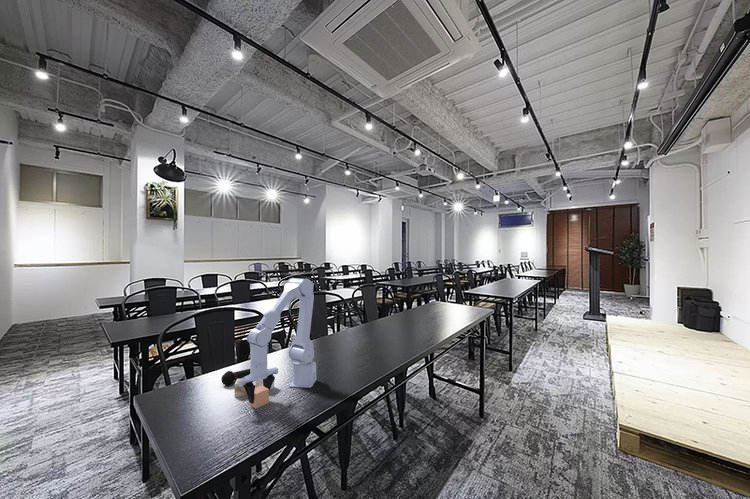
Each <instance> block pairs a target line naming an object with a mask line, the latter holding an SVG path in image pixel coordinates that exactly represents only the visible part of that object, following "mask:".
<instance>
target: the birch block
mask: <svg viewBox="0 0 750 499" xmlns="http://www.w3.org/2000/svg"><path fill="white" fill-rule="evenodd" d="M240 379H242V378H240ZM238 380H239V379H237V380H236V381H234V382H235V383H234V398H239V397H248V395H247V393H246V390H245V388H244V387H243V386H242V387H239V386H238Z"/></svg>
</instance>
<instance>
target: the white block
mask: <svg viewBox="0 0 750 499" xmlns="http://www.w3.org/2000/svg"><path fill="white" fill-rule="evenodd" d="M273 376H274V377H275V374H273ZM261 385H262V386H263V379H259V380H257V381H255V388H256V387H258V386H261ZM274 388H275V381H274V382H273V384H272V386H271V388H270V391H271V390H273V389H274Z"/></svg>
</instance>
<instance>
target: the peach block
mask: <svg viewBox="0 0 750 499" xmlns="http://www.w3.org/2000/svg"><path fill="white" fill-rule="evenodd" d="M269 403H270V392H269V389H268V388H266V387H264V386H262V385H261V386H258V387H256V386H255V391H254V403H253V404H251V403H250V402H249V401H248V405H250V406H251V407H252V408H253V409H258V408H261V407H262V406H265V405H268V404H269Z"/></svg>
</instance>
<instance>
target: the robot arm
mask: <svg viewBox="0 0 750 499" xmlns="http://www.w3.org/2000/svg"><path fill="white" fill-rule="evenodd" d="M293 298H298V300H300V303H299V310H298V319H297V325H296V326H297V327H296V335H295V336H296V337H295V339H293V340H292V341H291V345H290V348H289V350H288V356H289V358H290V359H291V362H292V382H290V384H289V385H288V387H289V388H309V389H310V388H312V387H313V386H314V384H315V383H316V382H317V380H318V379H317V362H315V361H313V360H314V356H315V350H314V343H313V342H312V340H311V337H310V334H311V326H312V317H313V309H314V299H315V295H314V283H313V282H312V281H311V280H310V278H295V277H291V278H289V279H288V281H287V283H285V285H284V288H283V292H282V293H281V294H280V296H279V297H278V299H277V301H276V303H275V305H274V306H273V308H272V309H269V310H267V311H266V312H264V314H263V317H262V318H261V320H260V321H259V322H258V323H257V324H256V325H255V327H254V328H253V329H251V330H250V331H249V333H248V335H247V336H246V340H247V342H248V343H249V348H250V353H249V354H250V357H249V358H250V361H249V362H250V368H249V369H250V374H249V375H247V376H245V377H243V378H242V379H239V380H238V386H239V387H242V386H243V387H244V388H245V390H246V393H247V395H248V396H247V399H248V403H249V402H250V403H251V404H253V403H254V391H255V388H256V384H254V382H256V381H257V380H259V379H263V386H264V387H266V388H268V389H269V393H270V391H271V390H270V388H271V386H272V384H273V382H274V383H275V380H276V378H275V375H278V374H279V368H278V367H276V366H274V367H272V368H268V344H269V343H270V342H271V339H272V334H273V331H274V330H275V328H276V326H277V324H278V323H279V322H280V320H281V314H282V312H283V311H284V310H285V308H286V307H287V306H288V304H289V303H290V302H291V301H292V299H293ZM273 375H274V376H273Z"/></svg>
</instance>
